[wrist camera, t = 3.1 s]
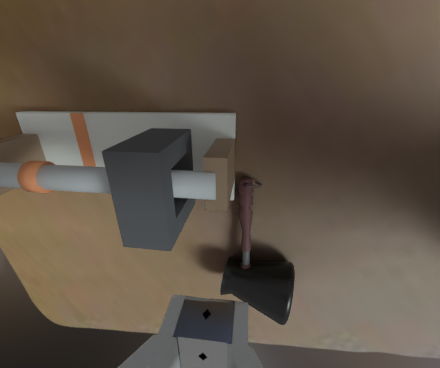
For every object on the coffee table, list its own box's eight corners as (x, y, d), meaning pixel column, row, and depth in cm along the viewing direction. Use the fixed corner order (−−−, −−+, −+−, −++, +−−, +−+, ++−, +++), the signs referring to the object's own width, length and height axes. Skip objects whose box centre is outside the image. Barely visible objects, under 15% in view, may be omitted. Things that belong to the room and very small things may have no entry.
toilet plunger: (285, 295, 34) (229, 280, 36) (310, 179, 29) (243, 169, 31) (284, 341, 27) (215, 318, 29) (317, 199, 22) (230, 184, 24)
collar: (190, 128, 22) (158, 153, 15) (195, 202, 25) (170, 251, 18) (151, 128, 23) (101, 151, 15) (160, 200, 26) (123, 246, 19)
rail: (236, 112, 25) (224, 130, 16) (234, 195, 29) (225, 245, 20) (24, 111, 28) (-77, 124, 20) (50, 185, 32) (-25, 223, 24)
